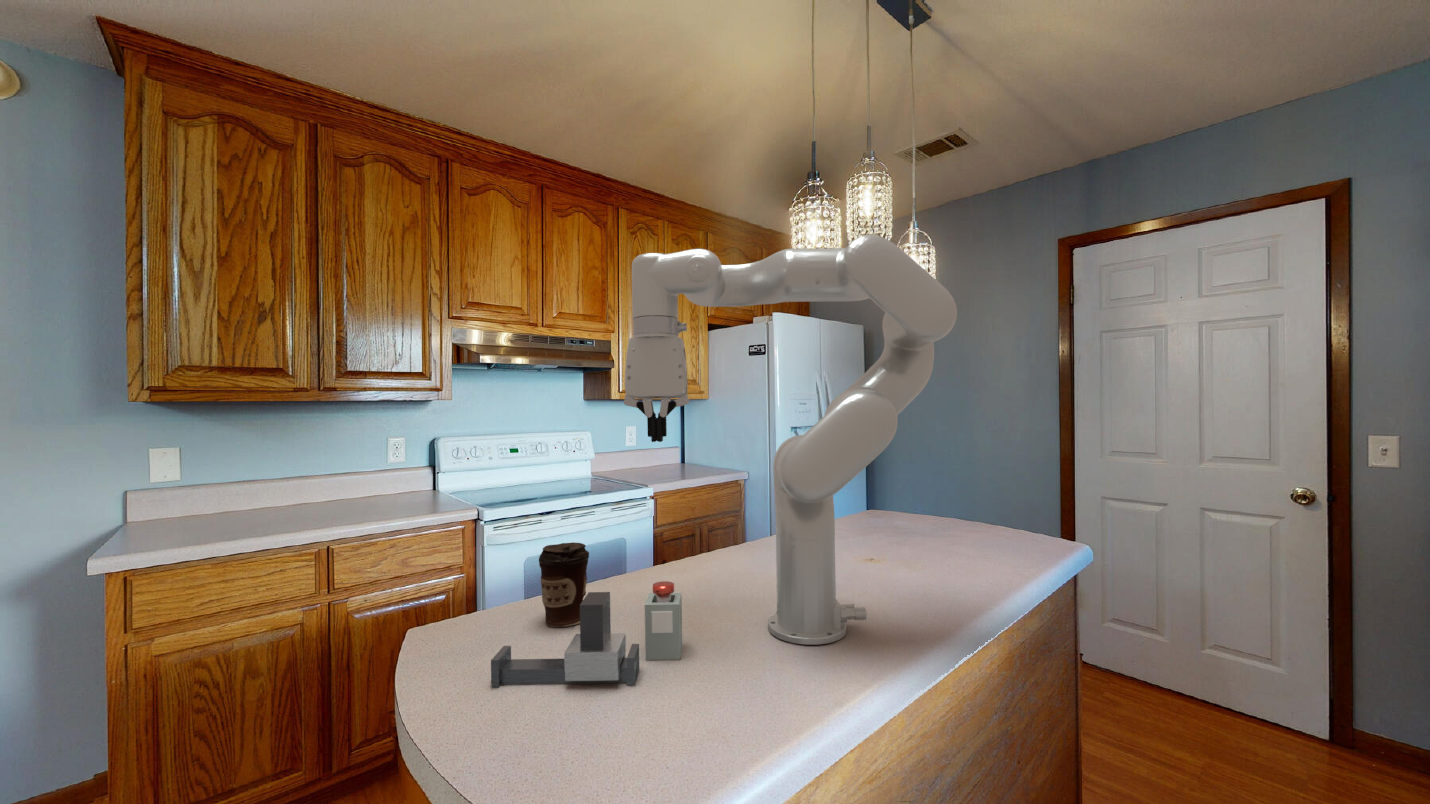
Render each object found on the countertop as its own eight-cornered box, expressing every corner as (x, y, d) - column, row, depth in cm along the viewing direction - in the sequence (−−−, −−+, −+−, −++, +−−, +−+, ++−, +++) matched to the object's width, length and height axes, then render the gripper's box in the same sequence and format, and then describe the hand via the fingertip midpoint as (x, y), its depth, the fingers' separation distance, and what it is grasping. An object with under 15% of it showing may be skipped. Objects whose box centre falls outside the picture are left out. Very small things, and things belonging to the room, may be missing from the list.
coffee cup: (575, 633, 90) (574, 553, 90) (529, 630, 92) (528, 551, 92) (597, 613, 98) (596, 540, 99) (554, 610, 100) (553, 539, 100)
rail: (639, 669, 77) (639, 643, 77) (634, 685, 73) (634, 658, 73) (504, 671, 77) (503, 645, 77) (491, 687, 73) (490, 660, 73)
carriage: (625, 659, 78) (624, 590, 78) (618, 681, 72) (616, 605, 72) (576, 660, 78) (575, 591, 78) (564, 681, 72) (563, 606, 72)
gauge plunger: (675, 627, 84) (674, 581, 84) (674, 635, 81) (673, 588, 81) (654, 627, 84) (653, 581, 84) (652, 636, 81) (651, 588, 81)
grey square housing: (682, 644, 85) (681, 592, 85) (679, 660, 80) (679, 604, 80) (649, 645, 85) (649, 593, 85) (645, 660, 80) (644, 605, 80)
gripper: (701, 332, 95) (702, 439, 95) (614, 334, 95) (616, 440, 95) (699, 326, 87) (701, 442, 87) (605, 328, 88) (607, 443, 87)
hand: (657, 441), depth 91 cm, fingers closed
